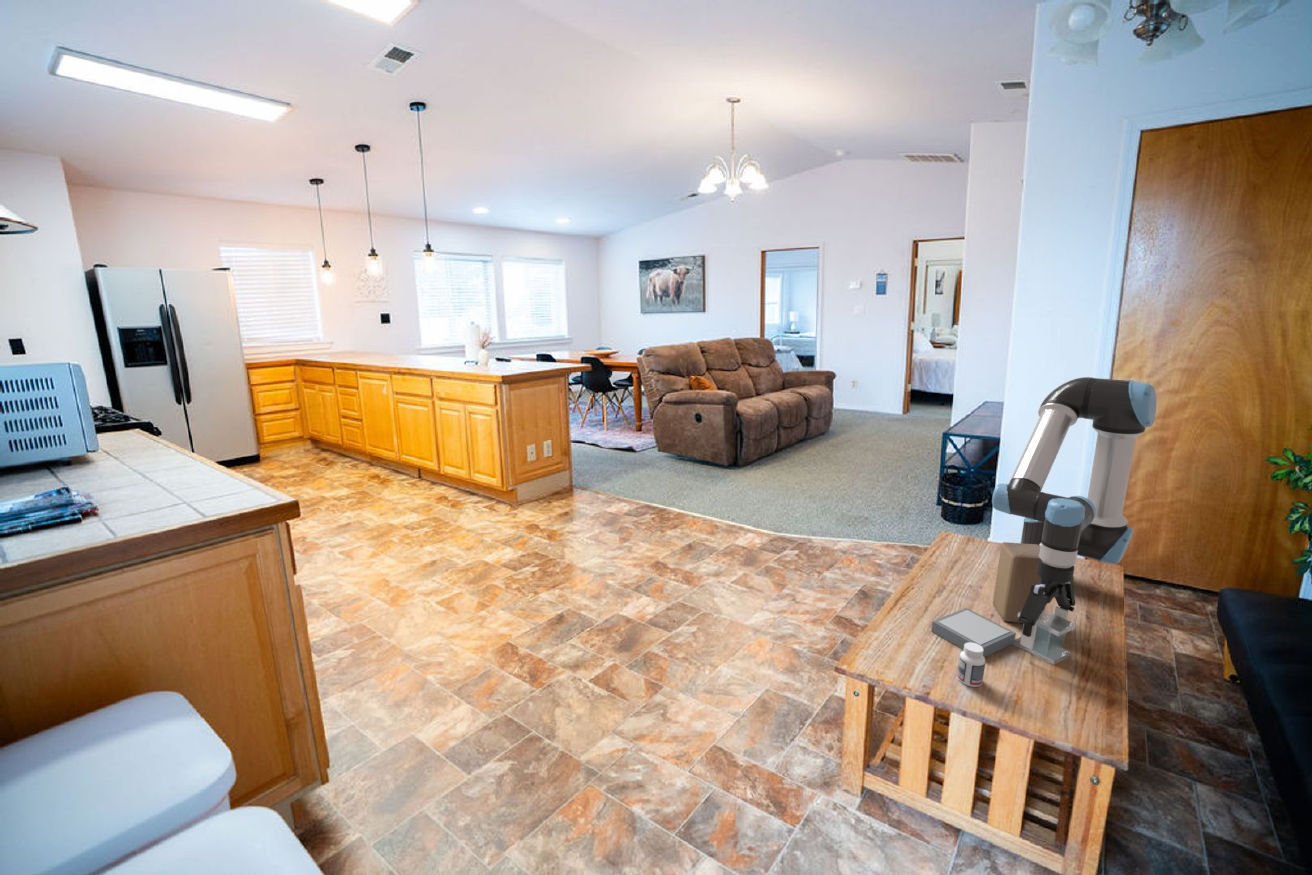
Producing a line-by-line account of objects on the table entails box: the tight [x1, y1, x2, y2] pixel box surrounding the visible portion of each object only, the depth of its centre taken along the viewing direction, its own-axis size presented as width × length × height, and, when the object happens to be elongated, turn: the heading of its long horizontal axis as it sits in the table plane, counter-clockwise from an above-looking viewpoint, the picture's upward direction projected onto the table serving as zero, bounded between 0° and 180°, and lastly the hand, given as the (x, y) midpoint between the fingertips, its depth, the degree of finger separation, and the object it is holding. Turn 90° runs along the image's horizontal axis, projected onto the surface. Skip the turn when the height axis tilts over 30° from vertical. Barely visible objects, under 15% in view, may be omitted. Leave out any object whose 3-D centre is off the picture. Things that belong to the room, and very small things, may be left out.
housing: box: [1012, 609, 1077, 666], centre depth 150 cm, size 7×10×9 cm
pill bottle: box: [957, 642, 986, 688], centre depth 138 cm, size 5×5×9 cm
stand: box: [930, 607, 1017, 658], centre depth 156 cm, size 14×14×3 cm
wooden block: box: [992, 541, 1046, 624], centre depth 164 cm, size 10×10×20 cm
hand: (1042, 639), depth 150 cm, fingers open, 13 cm apart
